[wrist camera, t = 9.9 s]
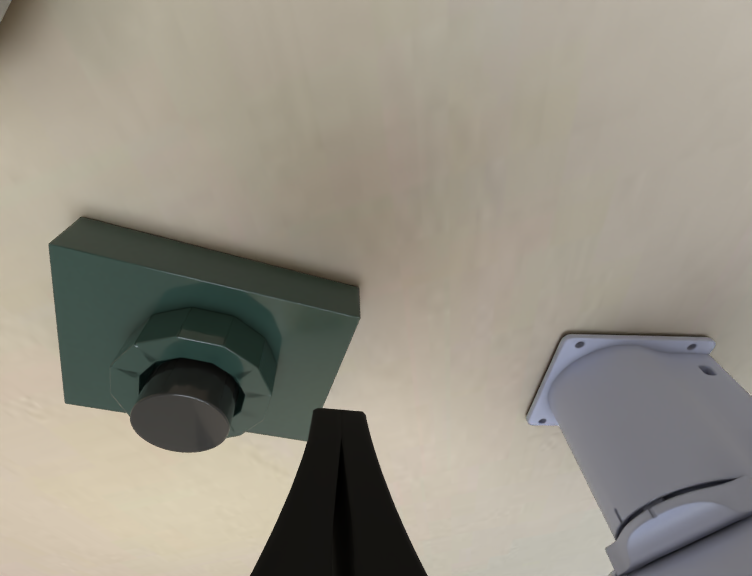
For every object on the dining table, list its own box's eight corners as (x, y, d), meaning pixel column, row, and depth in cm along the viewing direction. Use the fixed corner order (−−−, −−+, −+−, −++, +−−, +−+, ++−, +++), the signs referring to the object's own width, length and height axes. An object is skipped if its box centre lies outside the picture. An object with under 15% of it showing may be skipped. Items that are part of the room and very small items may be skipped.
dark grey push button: (245, 367, 19) (235, 404, 17) (232, 421, 21) (222, 458, 19) (150, 349, 18) (130, 385, 16) (146, 407, 20) (128, 445, 18)
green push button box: (359, 287, 21) (362, 347, 18) (311, 408, 27) (305, 473, 23) (81, 216, 18) (14, 271, 15) (88, 368, 24) (41, 437, 20)
